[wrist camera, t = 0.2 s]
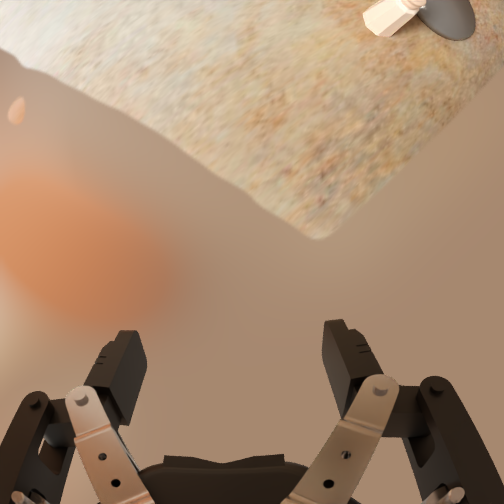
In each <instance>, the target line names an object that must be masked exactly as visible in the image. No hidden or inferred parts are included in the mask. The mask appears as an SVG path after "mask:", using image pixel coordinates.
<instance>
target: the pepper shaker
mask: <svg viewBox="0 0 504 504" xmlns="http://www.w3.org/2000/svg"><path fill="white" fill-rule="evenodd" d="M425 4H426V0H380V1H379V2H377V3H375V4H373V5H372V6H370V7H369V8H368V9H367V10H366V11H365V12H364V13H363V17H364V21H365V25H366V27H367V28H369V29H370V30H371V31H372V32H373V33H374V34H376V35H377V36H384V37H390V36H391V35H393V34H394V33H395V32H396V31H397V30H398V29H399V28H401V27H402V26H403V25H404V24H405V23H406V22H408V21H409V20H410V19H411V18H412V17H413V16H414V15H415V14H416V13H417V12H418V11H419V8H420V7H422V6H424V5H425Z"/></svg>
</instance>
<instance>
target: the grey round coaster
mask: <svg viewBox="0 0 504 504" xmlns="http://www.w3.org/2000/svg"><path fill="white" fill-rule="evenodd" d="M416 14H417V16H418V17H419V18H420V19H421V20H422V22H423V23H424V24H425V25H426V26H428V27H429V28H430V29H431V30H432V31H434V32H435V33H437V34H438V35H440V36H442V37H444V38H446V39H449V40H454V41H458V40H462V39H466V38H468V37H470V36H471V35H472V34H473V32H474V30H475V23H476V22H475V15H474V12H473V9H472V6H471V4H470V2H469V0H426V4H425V5H424V6H422V7H420V8H419V11H418V12H417V13H416Z"/></svg>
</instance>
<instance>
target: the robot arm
mask: <svg viewBox="0 0 504 504" xmlns="http://www.w3.org/2000/svg"><path fill="white" fill-rule="evenodd" d="M322 358H323V363H324V366H325V369H326V372H327V375H328V378H329V382H330V385H331V388H332V391H333V394H334V397H335V400H336V403H337V406H338V410H339V413H340V416H341V419H340V421H339V422H338V423H337V425H336V427H335V428H334V430H333V432H332V433H331V435H330V437H329V438H328V440H327V442H326V443H325V445H324V446H323V448H322V449H321V451H320V452H319V454H318V455H317V457H316V458H315V460H314V461H313V463H312V464H311V466H310V467H309V468H308V467H306V466H304V465H300V464H297V463H292V462H285V461H284V454H278V455H266V456H253V457H249V458H245V459H242V460H237V461H233V462H228V463H216V462H212V461H207V460H202V459H199V458H194V457H182V456H166V455H165V456H164V461H163V463H160V464H156V465H152V466H150V467H147V468H145V469H143V470H140V468H139V467H138V465H137V463H136V462H135V460H134V459H133V457H132V455H131V454H130V452H129V450H128V448H127V446H126V445H125V443H124V441H123V439H122V437H121V435H120V434H119V432H118V428H119V425H127V426H129V424H130V421H131V417H132V414H133V411H134V408H135V404H136V401H137V398H138V395H139V392H140V389H141V385H142V382H143V379H144V376H145V373H146V369H147V359H146V355H145V352H144V350H143V346H142V343H141V340H140V336H139V333H138V332H137V331H135V330H126V331H125V330H121V331H119V333H118V335H117V337H116V338H115V341H110V342H109V343H108V344H107V345H105V346H104V347H103V348H102V350H101V352H100V354H99V356H98V358H97V359H96V361H95V364H94V365H93V367H92V369H91V371H90V373H89V375H88V377H87V379H86V381H85V383H84V385H83V386H79V387H76V388H74V389H72V390H71V391H70V392H69V393H68V394H67V396H66V398H65V399H56V400H50V399H49V398H48V396H47V395H46V394H45V393H44V392H41V391H35V392H32V393H30V394H28V395H27V396H26V397H25V398H24V399H23V401H22V402H21V404H20V406H19V408H18V410H17V412H16V414H15V416H14V418H13V420H12V422H11V424H10V426H9V428H8V430H7V433H6V435H5V437H4V439H3V441H2V443H1V445H0V504H60V501H61V497H62V493H63V489H64V485H65V482H66V478H67V474H68V471H69V468H70V464H71V461H72V457H73V454H74V451H75V448H76V447H77V450H78V453H79V455H80V457H81V460H82V463H83V465H84V468H85V470H86V472H87V475H88V477H89V479H90V481H91V484H92V486H93V488H94V490H95V492H96V495H97V497H98V499H99V501H100V502H99V503H98V504H361V503H359V502H357V501H356V500H355V499H353V498H352V497H351V496H352V494H353V492H354V490H355V489H356V487H357V485H358V483H359V481H360V479H361V477H362V475H363V474H364V471H365V470H366V468H367V466H368V464H369V462H370V460H371V457H372V455H373V453H374V451H375V449H376V447H377V445H378V442H379V440H380V438H381V437H401V438H402V440H403V443H404V446H405V449H406V452H407V454H408V458H409V461H410V463H411V467H412V469H413V473H414V476H415V479H416V482H417V485H418V488H419V491H420V495H421V498H422V501H423V502H422V503H421V504H504V485H503V483H502V481H501V478H500V476H499V474H498V472H497V470H496V467H495V465H494V463H493V461H492V459H491V457H490V455H489V453H488V451H487V449H486V447H485V445H484V443H483V441H482V439H481V437H480V435H479V433H478V431H477V429H476V427H475V425H474V423H473V422H472V420H471V418H470V416H469V414H468V412H467V411H466V409H465V407H464V405H463V403H462V402H461V400H460V398H459V396H458V395H457V393H456V392H455V390H454V388H453V386H452V385H451V383H450V382H449V381H448V380H446V379H445V378H442V377H439V376H430V377H427V378H425V379H424V380H423V381H422V382H421V384H420V386H401V385H398V383H397V382H396V380H394V379H393V378H392V377H390V376H387V375H384V373H383V371H382V369H381V368H380V366H379V364H378V362H377V360H376V358H375V356H374V354H373V353H372V352H371V348H370V347H369V345H368V343H367V341H366V339H365V337H364V336H363V335H362V334H361V333H360V332H358V331H357V330H356V329H351V330H348V328H347V326H346V324H345V322H344V320H343V319H338V320H329V321H325V323H324V332H323V343H322ZM43 438H44V439H45V440H44V443H43V446H42V448H41V451H40V453H39V455H38V449H39V447H40V444H41V441H42V439H43Z"/></svg>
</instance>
